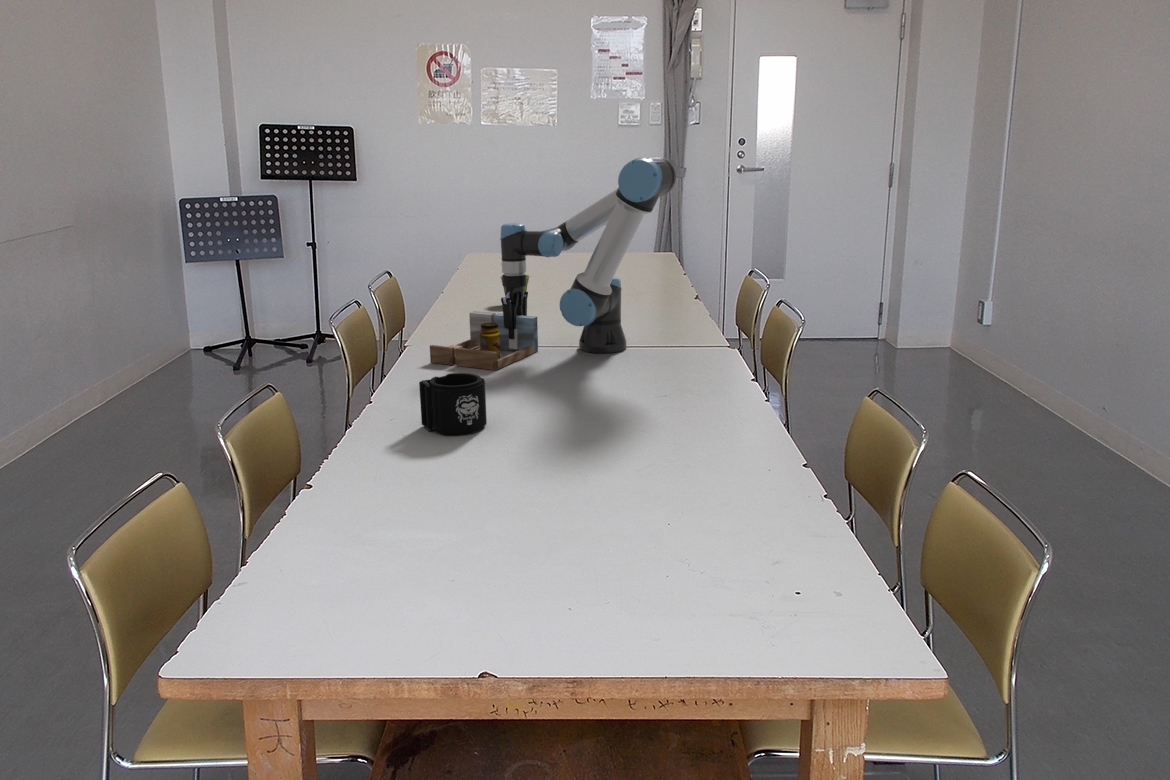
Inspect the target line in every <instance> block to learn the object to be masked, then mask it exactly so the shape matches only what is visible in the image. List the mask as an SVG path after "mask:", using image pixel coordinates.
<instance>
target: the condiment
mask: <svg viewBox="0 0 1170 780" xmlns="http://www.w3.org/2000/svg"><path fill="white" fill-rule="evenodd" d="M498 331H499V329H498V324H497V323H483V324H482V325H481V333H480V350H484V351H494V352H498V359H501V358H502V356H501V355H502V353H501V349H500V333H499V332H498Z"/></svg>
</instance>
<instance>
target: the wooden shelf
mask: <svg viewBox="0 0 1170 780" xmlns="http://www.w3.org/2000/svg"><path fill="white" fill-rule="evenodd" d="M494 323H497V324H498V329H499V331H498V332H499V333H500V351H501V350H503V351H514V352H512V353H510V354H508V355H506V356H503V357H501V359H498V352H494V351H484V350H480V348H478V349H471V348H469V349H465V348H455V359H456V364H455V366H458V367H467V368H475V369H482V370H483V369H484V370H485V369H486V370H491V371H498V370H500V369H502V368H504V367H506V366H509V365H510V364H513V363H515V362H517V361H519V360H521V359H523V358H526V357H528V356H530V355H532V354H534V353H538V352H539V333H538V330H539V329H538V316H535V315H527V316H524V315H516V329H517V340H518V349H509V330H508V329H507V328H505V327H504V319H503V313H500V312H499V313H496V314H495V315H494Z"/></svg>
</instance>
